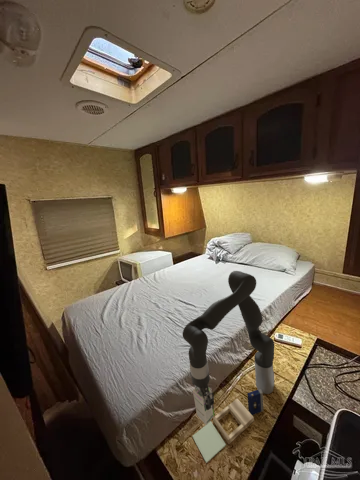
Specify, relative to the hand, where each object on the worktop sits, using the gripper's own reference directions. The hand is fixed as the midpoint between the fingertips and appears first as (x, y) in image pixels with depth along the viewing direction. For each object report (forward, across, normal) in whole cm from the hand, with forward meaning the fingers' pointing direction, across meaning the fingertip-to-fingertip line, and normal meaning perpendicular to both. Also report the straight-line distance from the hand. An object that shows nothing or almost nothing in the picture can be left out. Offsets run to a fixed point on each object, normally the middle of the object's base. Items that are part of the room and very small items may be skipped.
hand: (203, 401), depth 84 cm
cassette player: (+24, -4, -27) cm, 36 cm away
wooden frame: (+24, -1, -15) cm, 28 cm away
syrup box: (+8, 0, 0) cm, 8 cm away
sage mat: (+24, 0, 0) cm, 24 cm away
